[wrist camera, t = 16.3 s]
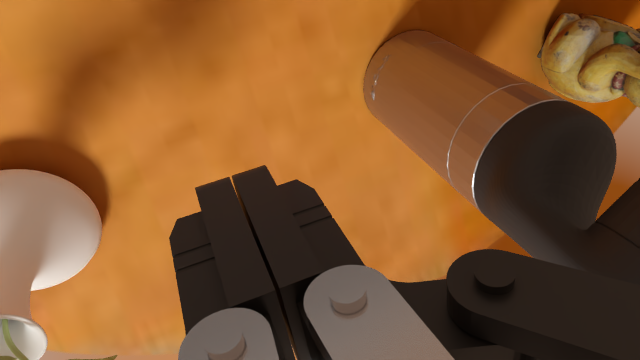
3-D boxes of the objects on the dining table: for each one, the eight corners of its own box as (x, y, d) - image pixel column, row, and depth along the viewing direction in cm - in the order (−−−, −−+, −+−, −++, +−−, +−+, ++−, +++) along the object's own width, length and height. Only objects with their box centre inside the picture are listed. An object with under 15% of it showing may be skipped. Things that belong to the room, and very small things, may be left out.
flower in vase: (-65, 269, 41) (-221, 647, 21) (-50, 145, 37) (-224, 469, 17) (106, 281, 47) (111, 582, 27) (135, 176, 43) (167, 441, 23)
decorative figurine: (614, 16, 53) (764, 59, 41) (579, 91, 57) (708, 151, 45) (547, 0, 49) (691, 43, 37) (514, 82, 53) (636, 145, 41)
